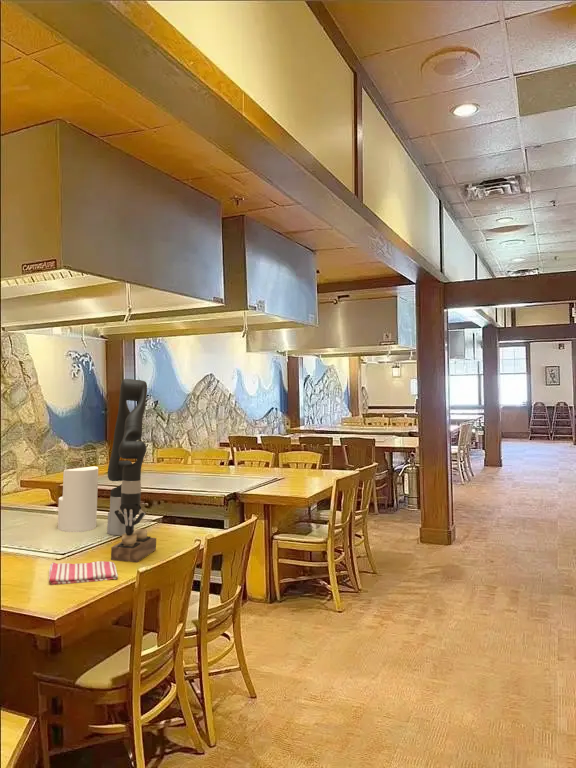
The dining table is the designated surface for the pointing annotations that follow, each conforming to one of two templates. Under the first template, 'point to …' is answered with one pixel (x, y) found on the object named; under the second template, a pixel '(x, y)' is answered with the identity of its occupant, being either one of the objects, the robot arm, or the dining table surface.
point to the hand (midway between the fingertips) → (129, 534)
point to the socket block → (133, 550)
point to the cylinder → (78, 500)
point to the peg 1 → (129, 539)
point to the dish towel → (81, 572)
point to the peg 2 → (141, 533)
